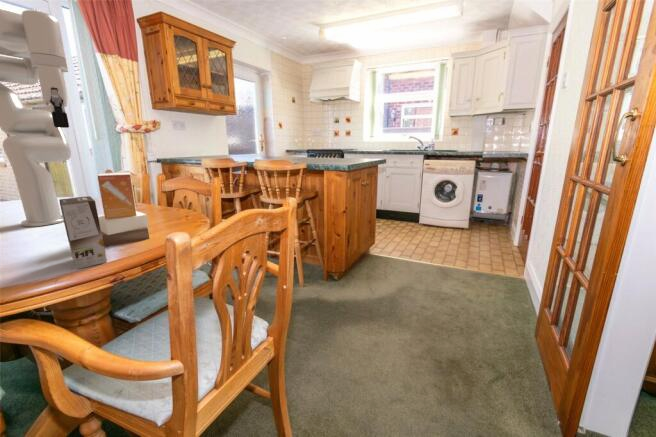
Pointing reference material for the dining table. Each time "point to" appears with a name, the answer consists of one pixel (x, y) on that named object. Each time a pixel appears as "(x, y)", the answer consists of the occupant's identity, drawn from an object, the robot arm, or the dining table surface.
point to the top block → (123, 223)
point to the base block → (125, 236)
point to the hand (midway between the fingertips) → (62, 127)
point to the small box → (117, 195)
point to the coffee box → (83, 231)
